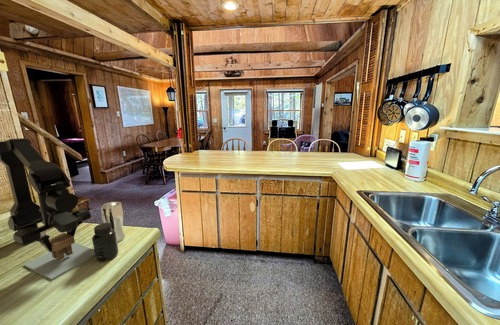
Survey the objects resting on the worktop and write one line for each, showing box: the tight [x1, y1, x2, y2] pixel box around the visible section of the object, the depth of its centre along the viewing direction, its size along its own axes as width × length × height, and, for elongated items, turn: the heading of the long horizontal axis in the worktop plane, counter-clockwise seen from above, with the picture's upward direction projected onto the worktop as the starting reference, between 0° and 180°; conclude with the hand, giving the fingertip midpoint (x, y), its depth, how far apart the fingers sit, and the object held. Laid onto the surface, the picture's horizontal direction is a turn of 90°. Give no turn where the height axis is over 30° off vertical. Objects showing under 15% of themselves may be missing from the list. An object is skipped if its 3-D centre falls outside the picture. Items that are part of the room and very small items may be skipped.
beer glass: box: [101, 201, 125, 243], centre depth 83 cm, size 7×7×15 cm
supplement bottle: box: [91, 222, 119, 263], centre depth 73 cm, size 7×7×12 cm
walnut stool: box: [49, 232, 76, 260], centre depth 71 cm, size 6×6×6 cm
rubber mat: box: [23, 242, 95, 281], centre depth 72 cm, size 16×14×1 cm
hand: (61, 246), depth 71 cm, fingers closed on walnut stool, 5 cm apart
